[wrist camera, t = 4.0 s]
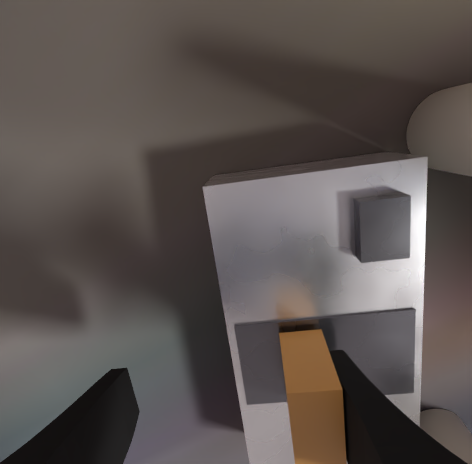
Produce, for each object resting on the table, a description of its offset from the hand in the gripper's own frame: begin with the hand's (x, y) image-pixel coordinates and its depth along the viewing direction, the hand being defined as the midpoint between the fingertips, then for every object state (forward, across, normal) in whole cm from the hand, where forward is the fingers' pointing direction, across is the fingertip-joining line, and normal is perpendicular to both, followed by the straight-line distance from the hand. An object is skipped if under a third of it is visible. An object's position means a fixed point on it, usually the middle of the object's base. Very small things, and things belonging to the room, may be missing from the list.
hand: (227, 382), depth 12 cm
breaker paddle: (0, -3, 0) cm, 3 cm away
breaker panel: (+4, -4, 0) cm, 5 cm away
